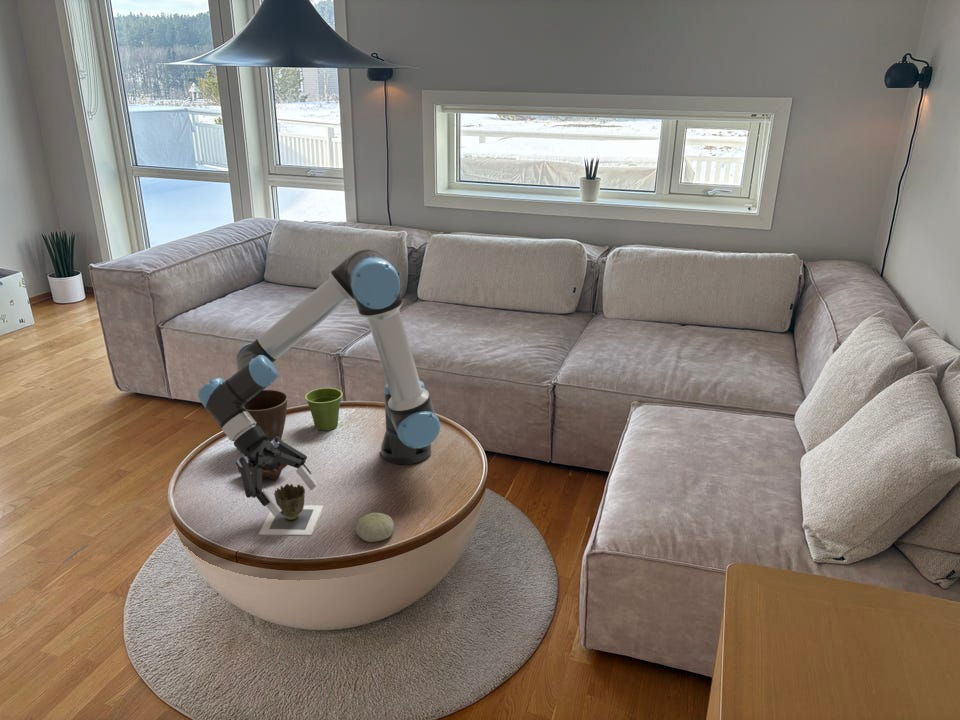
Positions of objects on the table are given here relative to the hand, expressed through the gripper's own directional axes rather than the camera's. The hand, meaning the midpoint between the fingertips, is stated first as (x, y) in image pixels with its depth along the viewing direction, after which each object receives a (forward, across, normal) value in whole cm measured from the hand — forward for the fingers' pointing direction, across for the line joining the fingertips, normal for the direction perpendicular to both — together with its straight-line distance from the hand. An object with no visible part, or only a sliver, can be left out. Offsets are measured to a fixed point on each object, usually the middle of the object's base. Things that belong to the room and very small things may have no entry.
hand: (297, 500), depth 178 cm
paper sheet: (+3, 0, -6) cm, 7 cm away
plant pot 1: (-20, -27, -30) cm, 45 cm away
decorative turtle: (-12, -14, -22) cm, 28 cm away
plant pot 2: (-16, -47, -25) cm, 56 cm away
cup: (+3, 0, -6) cm, 7 cm away
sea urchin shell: (+19, -5, +9) cm, 21 cm away
